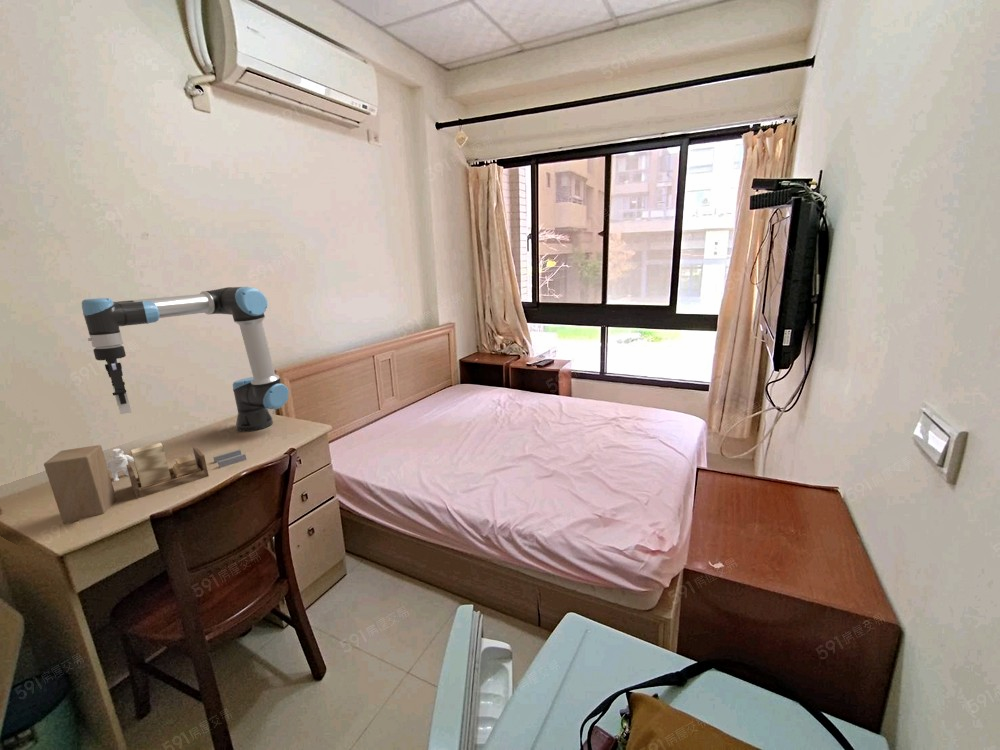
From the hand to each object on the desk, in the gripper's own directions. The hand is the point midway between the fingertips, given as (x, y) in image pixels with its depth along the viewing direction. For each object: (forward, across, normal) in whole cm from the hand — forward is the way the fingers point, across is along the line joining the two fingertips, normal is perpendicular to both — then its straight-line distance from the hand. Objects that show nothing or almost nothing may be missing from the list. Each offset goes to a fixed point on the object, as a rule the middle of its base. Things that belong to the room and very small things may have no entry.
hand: (124, 408), depth 146 cm
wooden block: (+28, +12, -14) cm, 34 cm away
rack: (+28, +9, +7) cm, 30 cm away
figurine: (+28, -8, -4) cm, 29 cm away
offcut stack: (+26, +8, +12) cm, 30 cm away
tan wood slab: (+27, +9, +3) cm, 28 cm away
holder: (+27, +6, +26) cm, 38 cm away
